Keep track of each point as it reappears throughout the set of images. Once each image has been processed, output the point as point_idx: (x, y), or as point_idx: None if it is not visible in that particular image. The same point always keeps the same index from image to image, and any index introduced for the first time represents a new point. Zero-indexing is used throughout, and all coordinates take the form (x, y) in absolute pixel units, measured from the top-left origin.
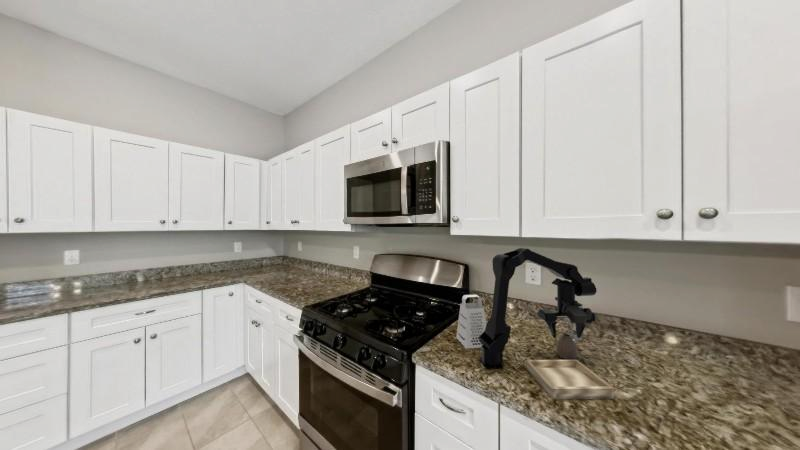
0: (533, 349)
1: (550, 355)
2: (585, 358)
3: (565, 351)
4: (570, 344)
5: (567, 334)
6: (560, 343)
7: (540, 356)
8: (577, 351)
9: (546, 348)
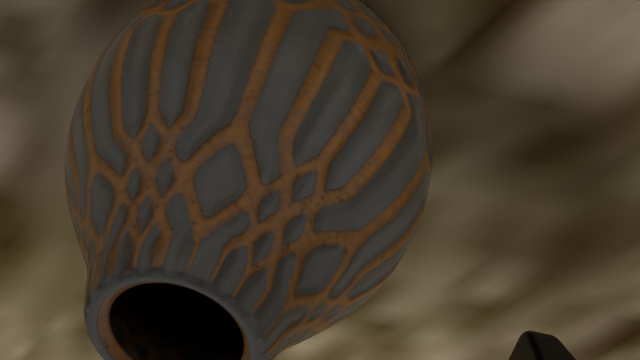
0: None
1: (462, 186)
2: (40, 17)
3: (397, 49)
4: (262, 81)
5: (124, 354)
6: (408, 209)
7: (625, 196)
8: (150, 5)
9: (363, 317)
